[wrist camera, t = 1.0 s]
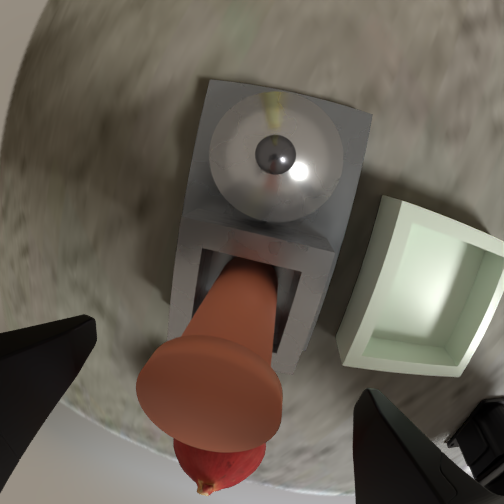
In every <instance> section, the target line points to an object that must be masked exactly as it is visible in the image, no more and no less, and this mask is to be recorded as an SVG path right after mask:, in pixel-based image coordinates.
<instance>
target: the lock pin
mask: <svg viewBox="0 0 504 504" xmlns="http://www.w3.org/2000/svg"><path fill="white" fill-rule="evenodd" d="M277 293H278V278H277V274H276V272H275V270H274V269H273V267H272V266H271V265H270V264H267V263H262V262H258V261H254V260H250V259H246V258H242V257H236V258H234V259H232V260H230V261H229V262H228V263H227V264H226V265H225V266H224V268H223V270H222V271H221V273H220V274H219V276H218V277H217V279H216V281H215V282H214V284H213V285H212V287H211V289H210V290H209V292H208V293H207V295H206V297H205V298H204V300H203V302H202V303H201V305H200V306H199V308H198V310H197V311H196V313H195V314H194V316H193V318H192V319H191V321H190V323H189V324H188V326H187V327H186V329H185V331H184V332H183V334H182V336H181V337H178V338H174V339H172V340H169V341H167V342H165V343H164V344H162V345H161V346H160V347H158V348H157V349H156V350H155V352H154V353H153V354H152V356H151V357H150V359H149V360H148V361H147V363H146V364H145V366H144V367H143V369H142V370H141V372H140V374H139V376H138V378H137V382H136V392H137V397H138V400H139V403H140V405H141V407H142V409H143V410H144V412H145V413H146V415H147V416H148V417H149V418H150V420H151V421H152V422H153V423H154V424H155V425H156V426H157V427H159V428H160V429H161V430H162V431H164V432H165V433H166V434H168V435H169V436H171V437H173V438H175V439H176V440H178V441H180V442H182V443H185V444H187V445H190V446H193V447H196V448H199V449H203V450H207V451H213V452H241V451H246V450H250V449H253V448H256V447H258V446H261V445H262V444H264V443H266V442H267V441H269V440H270V439H271V438H272V437H273V436H274V435H275V434H276V432H277V431H278V429H279V426H280V424H281V417H282V399H283V393H282V387H281V383H280V381H279V378H278V376H277V375H276V373H275V372H274V370H273V369H272V368H271V359H272V349H273V338H274V328H275V316H276V305H277Z"/></svg>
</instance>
